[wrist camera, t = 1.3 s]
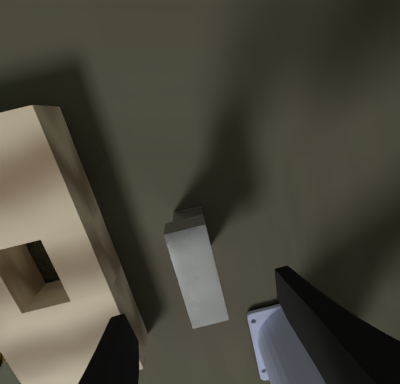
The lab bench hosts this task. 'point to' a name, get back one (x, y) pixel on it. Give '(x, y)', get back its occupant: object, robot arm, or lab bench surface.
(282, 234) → the lab bench surface
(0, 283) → the beige slab
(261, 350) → the robot arm
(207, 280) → the grey rectangular prism
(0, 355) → the medicine bottle
